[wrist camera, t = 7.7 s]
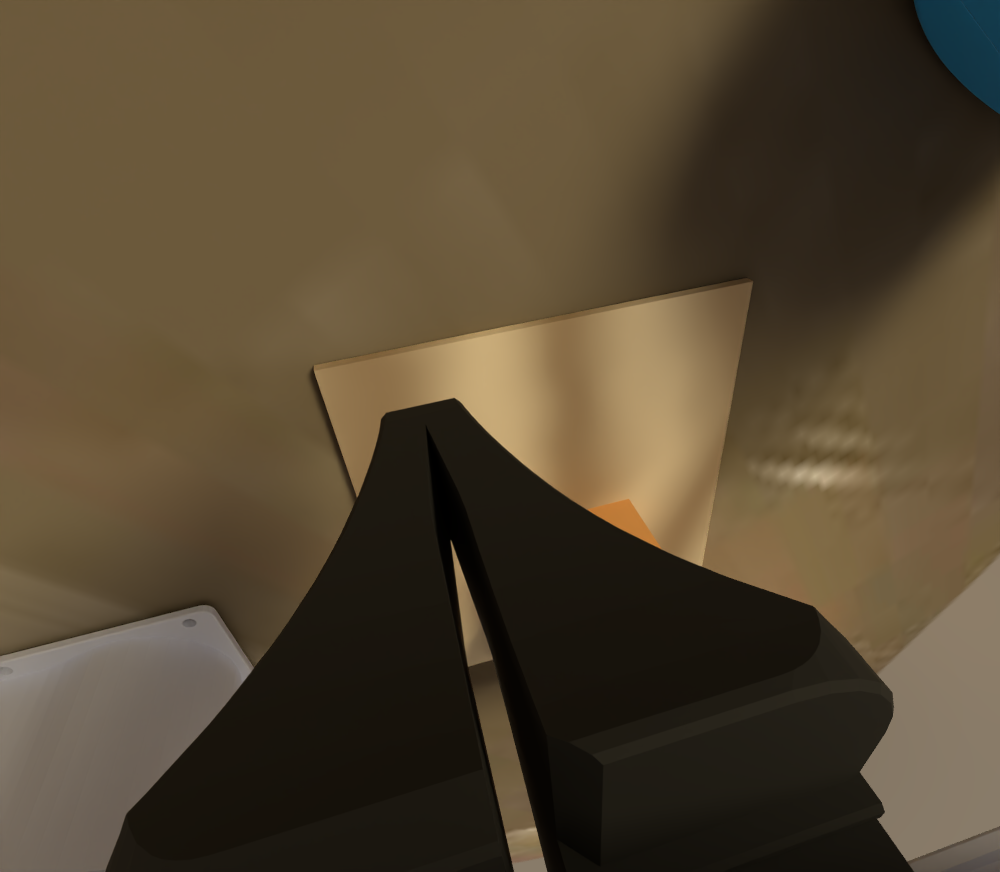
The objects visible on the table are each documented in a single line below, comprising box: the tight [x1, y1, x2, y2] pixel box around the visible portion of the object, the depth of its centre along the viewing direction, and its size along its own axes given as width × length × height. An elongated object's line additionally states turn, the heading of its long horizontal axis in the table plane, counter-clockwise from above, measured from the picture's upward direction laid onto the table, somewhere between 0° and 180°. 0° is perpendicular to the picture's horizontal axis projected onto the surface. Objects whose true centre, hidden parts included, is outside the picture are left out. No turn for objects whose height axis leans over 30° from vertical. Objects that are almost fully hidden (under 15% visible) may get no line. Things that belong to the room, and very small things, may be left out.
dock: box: [314, 278, 753, 707], centre depth 23 cm, size 16×19×5 cm
